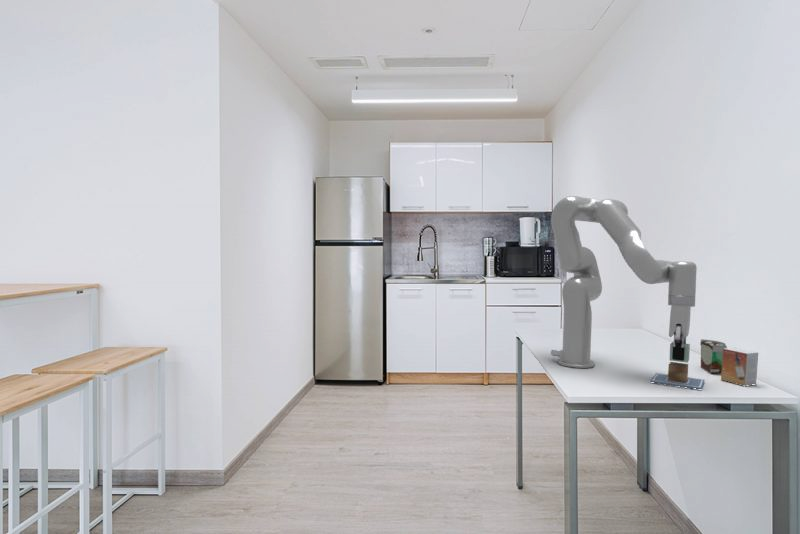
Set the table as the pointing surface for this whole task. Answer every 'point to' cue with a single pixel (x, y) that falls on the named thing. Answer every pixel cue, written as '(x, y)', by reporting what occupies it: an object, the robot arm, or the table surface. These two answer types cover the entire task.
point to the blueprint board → (689, 384)
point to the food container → (712, 356)
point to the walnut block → (678, 372)
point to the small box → (739, 366)
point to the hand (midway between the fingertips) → (679, 357)
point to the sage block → (686, 353)
